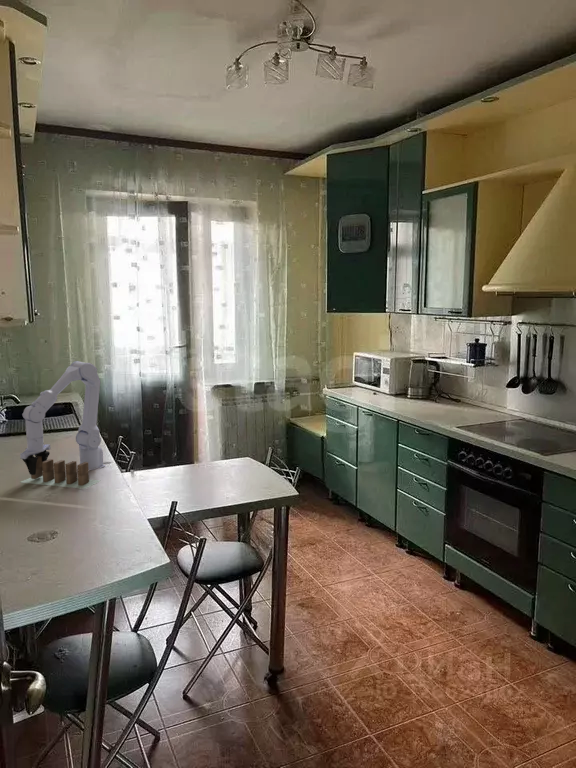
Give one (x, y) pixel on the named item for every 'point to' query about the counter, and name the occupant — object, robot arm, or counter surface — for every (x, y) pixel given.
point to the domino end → (83, 473)
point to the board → (62, 484)
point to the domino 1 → (38, 468)
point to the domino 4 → (71, 472)
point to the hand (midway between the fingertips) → (37, 472)
